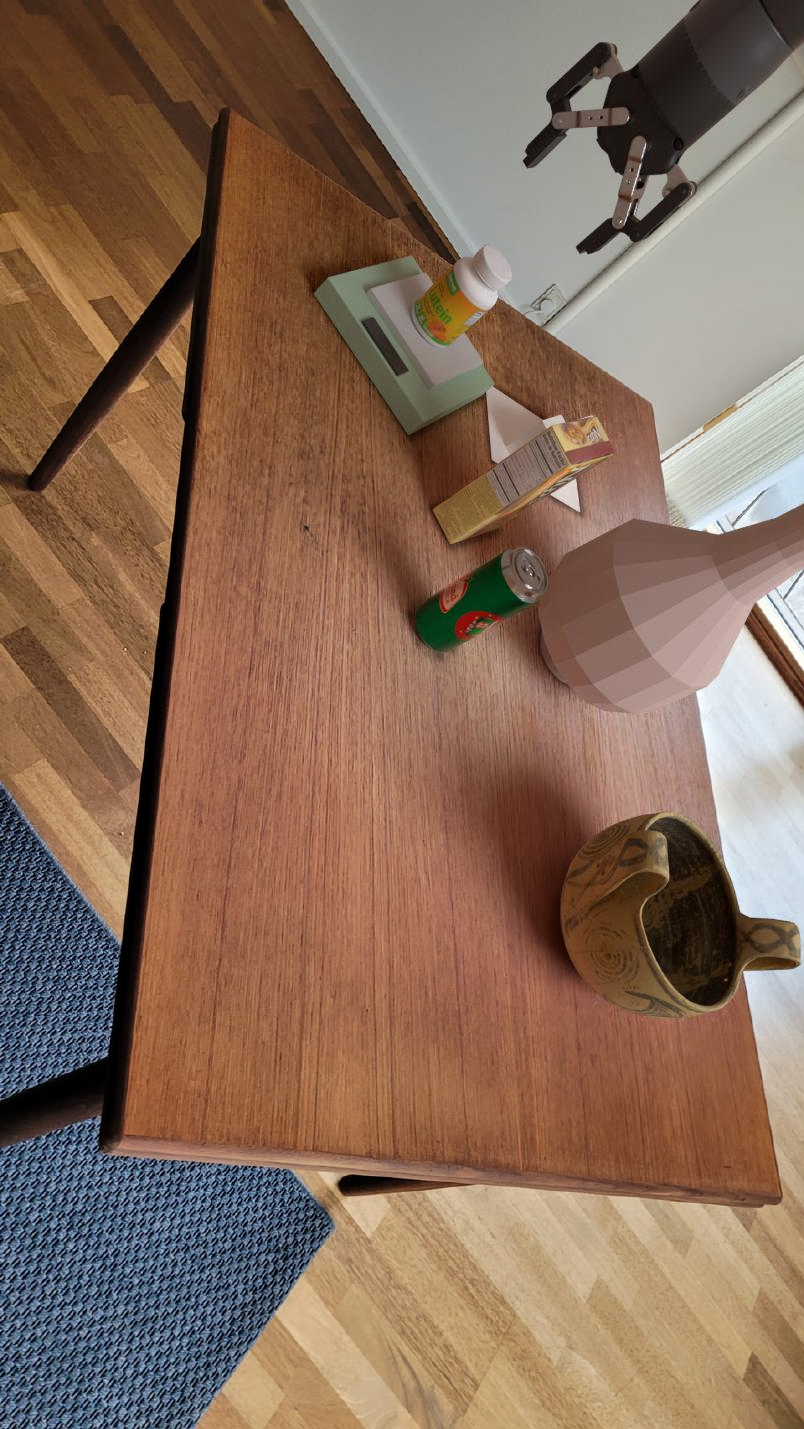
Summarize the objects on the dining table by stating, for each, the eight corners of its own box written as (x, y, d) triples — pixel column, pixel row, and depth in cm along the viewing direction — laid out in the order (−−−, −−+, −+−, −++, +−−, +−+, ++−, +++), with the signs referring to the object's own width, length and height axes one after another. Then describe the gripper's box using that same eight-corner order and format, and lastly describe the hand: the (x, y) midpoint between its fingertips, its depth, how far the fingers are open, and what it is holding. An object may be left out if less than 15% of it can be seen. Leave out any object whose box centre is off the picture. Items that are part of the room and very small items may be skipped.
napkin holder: (570, 437, 111) (607, 411, 107) (581, 513, 107) (620, 488, 103) (484, 380, 102) (521, 350, 98) (491, 461, 98) (531, 432, 94)
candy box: (478, 494, 94) (596, 412, 83) (497, 530, 94) (617, 453, 83) (429, 509, 87) (550, 422, 77) (450, 548, 88) (573, 466, 77)
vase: (585, 582, 102) (847, 439, 81) (633, 731, 98) (921, 619, 78) (482, 571, 90) (760, 399, 69) (533, 739, 86) (843, 611, 65)
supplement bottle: (401, 305, 90) (469, 238, 84) (429, 300, 94) (496, 235, 88) (429, 353, 91) (499, 290, 84) (456, 346, 95) (525, 285, 88)
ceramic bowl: (492, 981, 72) (650, 953, 62) (512, 795, 81) (652, 743, 71) (662, 1060, 83) (821, 1047, 72) (662, 887, 92) (803, 854, 82)
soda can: (424, 593, 83) (521, 531, 74) (459, 633, 84) (558, 577, 76) (402, 623, 79) (501, 562, 71) (439, 665, 81) (540, 610, 72)
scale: (312, 293, 87) (332, 271, 85) (397, 269, 98) (416, 249, 96) (408, 435, 89) (429, 417, 87) (479, 396, 101) (500, 379, 98)
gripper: (772, 139, 73) (610, 272, 84) (681, -25, 71) (527, 133, 82) (752, 142, 68) (582, 284, 79) (652, -35, 66) (491, 136, 77)
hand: (554, 207), depth 81 cm, fingers open, 8 cm apart
